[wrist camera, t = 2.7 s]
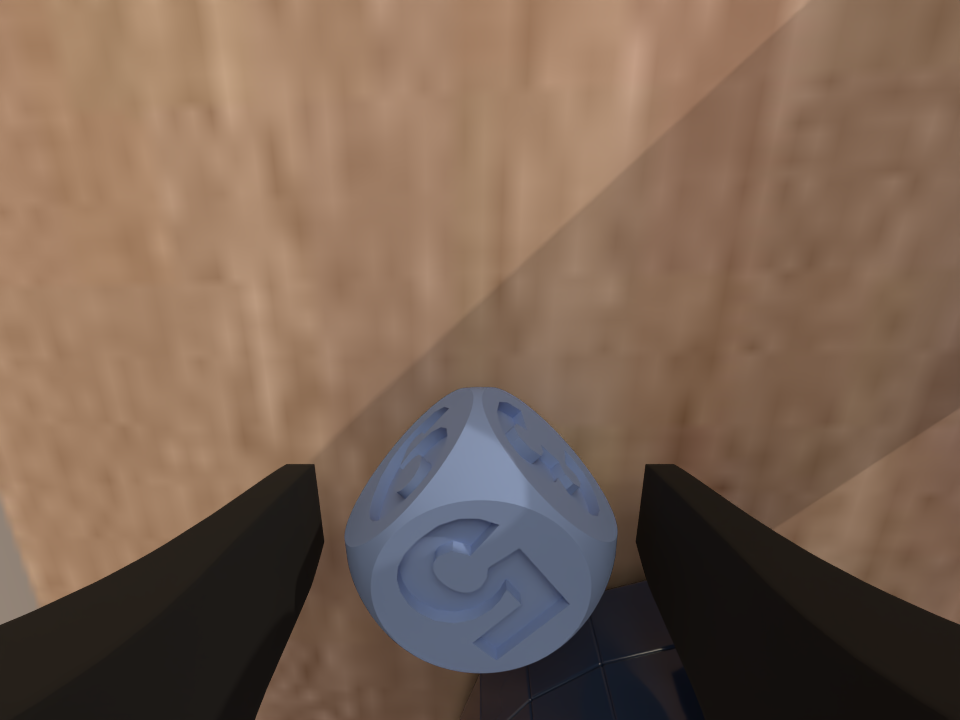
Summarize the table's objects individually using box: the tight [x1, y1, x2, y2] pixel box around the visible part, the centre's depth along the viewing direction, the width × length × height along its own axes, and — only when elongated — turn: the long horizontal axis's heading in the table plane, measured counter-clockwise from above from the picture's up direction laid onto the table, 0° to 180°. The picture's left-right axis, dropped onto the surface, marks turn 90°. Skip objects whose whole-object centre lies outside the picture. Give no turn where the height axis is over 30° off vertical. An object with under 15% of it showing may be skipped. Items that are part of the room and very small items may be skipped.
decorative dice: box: [345, 387, 617, 673], centre depth 11 cm, size 4×4×4 cm
